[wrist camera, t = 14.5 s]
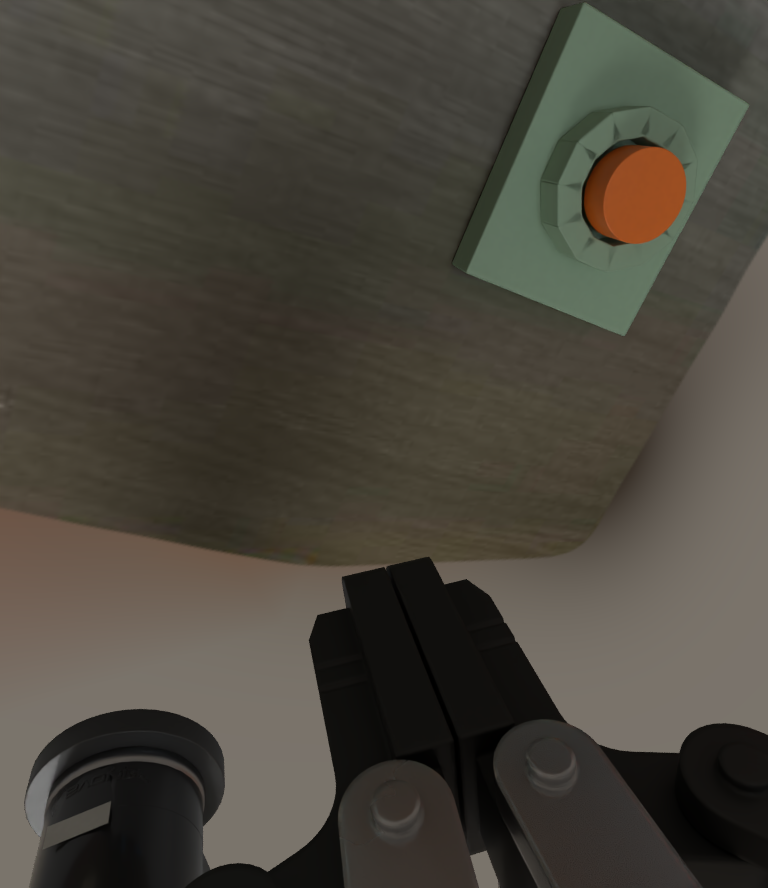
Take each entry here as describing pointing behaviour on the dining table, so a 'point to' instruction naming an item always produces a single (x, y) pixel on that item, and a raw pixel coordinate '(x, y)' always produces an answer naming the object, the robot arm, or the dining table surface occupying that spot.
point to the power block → (591, 168)
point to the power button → (635, 193)
